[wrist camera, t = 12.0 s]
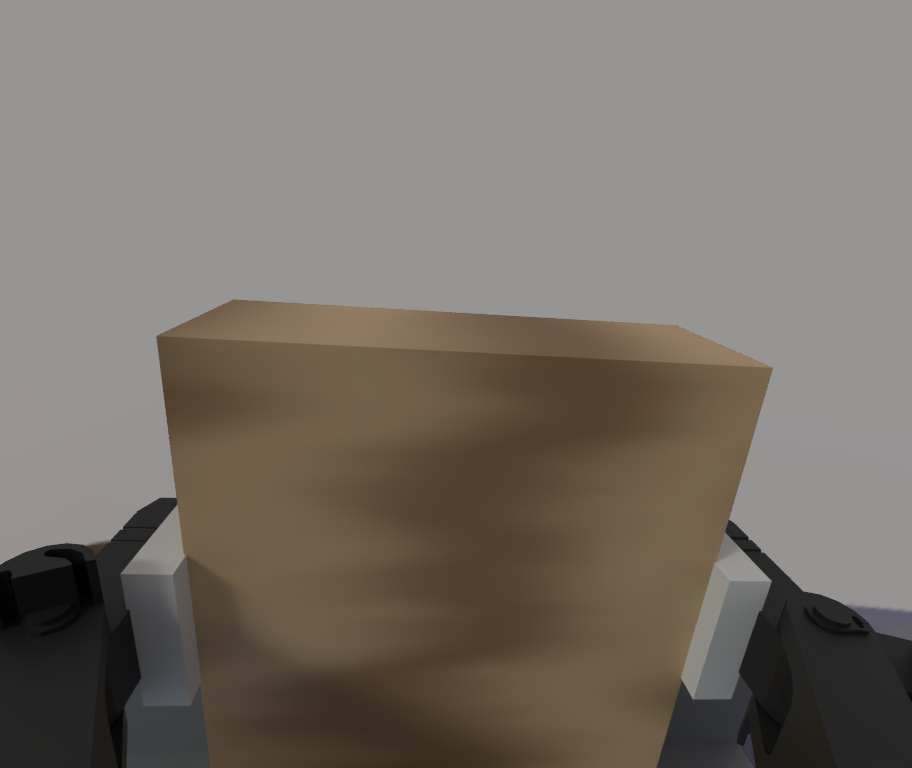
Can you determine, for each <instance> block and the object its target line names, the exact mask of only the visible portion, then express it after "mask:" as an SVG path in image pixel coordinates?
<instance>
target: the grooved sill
mask: <svg viewBox="0 0 912 768" xmlns="http://www.w3.org/2000/svg"><path fill="white" fill-rule="evenodd" d="M752 693H753V692H752V691H751V690H750V688H749V687H748V685H747V684H746V682H745V681H744V679H743V678H742V677H741V675H739V678H738V681H737V684H736V687H735V690H734V692H733V695H732V698H731V699H695V700H693V699H692V697H691V695H690V693H689V691H688V690H687V688H686V686H685V684H684V683H683V681H682V682H681V685H680V689H679V692H678V695H677V699H676V702H675V706H674V709H673V713H672V716H671V719H670V723H669V726H668V730H667V733H666V737H665V740H664V743H663V747H662V750H661V754H660V757H659V761H658V764H657V767H656V768H754V767H753V765H752V764H751V762H750V760H749V759H748V757H747V755H746V754H745V752H744V750H743V749H742V747H741V745H739V744H737V737H738V732H739V729H740V726H741V724H742V721H743V718H744V715H745V712H746V710H747V707H748V704H749V701H750V699H751V696H752ZM124 707H125V713H126V718H127V723H128V730H127V768H210V760H209V752H208V744H207V736H206V728H205V720H204V712H203V704H202V696H201V688H200V686H199V688H198V690H197V692H196V694H195V697H194V699H193V701H192V703H191V705H190V706H143V701H142V695H141V689H140V683H138V684H137V686H136V688H135V689H134V691H133V693H132V695H131V696H130V698H129V700H128V701H127V703H126V705H125V706H124Z"/></svg>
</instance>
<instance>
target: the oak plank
mask: <svg viewBox="0 0 912 768" xmlns="http://www.w3.org/2000/svg"><path fill="white" fill-rule="evenodd" d="M157 345H158V352H159V361H160V369H161V376H162V384H163V393H164V400H165V408H166V415H167V424H168V433H169V441H170V448H171V456H172V465H173V473H174V481H175V489H176V497H177V505H178V513H179V521H180V529H181V537H182V545H183V553H184V555H186V557H187V566H188V574H189V582H190V591H191V599H192V607H193V615H194V624H195V632H196V640H197V649H198V657H199V665H200V674H201V684H200V688H201V696H202V704H203V712H204V720H205V728H206V736H207V744H208V752H209V760H210V768H656V767H657V764H658V761H659V757H660V754H661V750H662V747H663V743H664V740H665V737H666V733H667V730H668V726H669V723H670V719H671V716H672V713H673V709H674V706H675V702H676V699H677V695H678V692H679V689H680V685H681V682H682V679H681V675H682V672H683V669H684V665H685V662H686V658H687V655H688V651H689V648H690V645H691V641H692V638H693V634H694V631H695V628H696V624H697V621H698V617H699V614H700V610H701V607H702V604H703V600H704V597H705V593H706V590H707V587H708V583H709V580H710V576H711V573H712V569H713V566H714V563H716V562H717V558H718V555H719V551H720V548H721V544H722V541H723V538H724V534H725V531H726V527H727V524H728V520H729V517H730V513H731V510H732V507H733V503H734V500H735V496H736V493H737V489H738V486H739V482H740V479H741V476H742V472H743V468H744V465H745V462H746V459H747V455H748V451H749V448H750V445H751V441H752V438H753V435H754V431H755V427H756V424H757V420H758V417H759V414H760V410H761V407H762V404H763V400H764V396H765V393H766V390H767V387H768V383H769V380H770V376H771V373H772V369H773V368H772V367H770V366H768V365H765V364H763V363H761V362H759V361H756V360H754V359H752V358H749V357H747V356H745V355H743V354H740V353H738V352H736V351H733V350H731V349H729V348H727V347H724V346H722V345H720V344H717V343H715V342H713V341H710V340H708V339H706V338H704V337H701V336H699V335H696V334H694V333H692V332H690V331H688V330H685V329H683V328H681V327H679V326H673V325H657V324H638V323H621V322H606V321H589V320H588V321H587V320H571V319H555V318H537V317H520V316H503V315H486V314H469V313H451V312H435V311H434V312H433V311H418V310H401V309H384V308H367V307H350V306H349V307H348V306H333V305H316V304H299V303H282V302H264V301H248V300H247V301H246V300H232V301H230V302H228V303H225V304H223V305H221V306H219V307H217V308H215V309H213V310H211V311H208V312H207V313H204V314H202V315H200V316H198V317H196V318H194V319H192V320H189V321H188V322H185V323H183V324H181V325H179V326H177V327H175V328H172V329H170V330H168V331H166V332H164V333H162V334H160V335H158V336H157Z"/></svg>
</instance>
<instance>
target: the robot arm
mask: <svg viewBox="0 0 912 768" xmlns="http://www.w3.org/2000/svg"><path fill="white" fill-rule="evenodd" d="M739 675H741V677H742V678H743V679H744V681H745V682H746V684H747V685H748V687H749V688H750V690H751V691H752V692H753V693H752V696H751V699H750V701H749V704H748V707H747V710H746V712H745V715H744V718H743V721H742V724H741V726H740V729H739V732H738V737H737V744H739V745H742V746H744V743H745V740H746V738H747V735H748V734H750V733H751V739H752V745H753V751H754V757H755V764H756V768H912V641H910V640H905V639H901V638H897V637H893V636H889V635H884V634H880V633H876V632H875V631H874V630H873V628H872V627H871V626H870V624H869V623H868V622H867V621H866V620H865V619H864V618H862V617H861V616H860V615H859V614H857V613H856V612H855V611H854V610H852V609H850V608H848V607H847V606H845V605H843V604H841V603H840V602H838V601H836V600H833V599H830V598H828V597H825V596H822V595H819V594H814V593H808V592H803V591H802V590H801V589H800V588H799V587H798V586H797V585H796V584H795V583H794V582H793V581H792V580H791V579H790V578H789V577H788V576H787V575H786V574H785V573H784V572H783V571H782V570H781V569H780V568H779V567H778V566H777V565H776V564H775V563H774V562H773V561H772V560H771V559H770V558H769V557H768V556H767V555H766V554H765V553H761V549H760V548H759V547H758V546H757V545H756V544H755V543H754V542H753V541H752V540H749V539H748V536H747V535H746V534H745V533H744V532H743V531H742V530H741V529H740V528H739V527H737V525H735V524H734V523H733V522H732V521H730V520H728V524H727V527H726V531H725V534H724V538H723V541H722V544H721V548H720V551H719V555H718V558H717V562H716V563H714V566H713V569H712V573H711V576H710V580H709V583H708V587H707V590H706V593H705V597H704V600H703V604H702V607H701V610H700V614H699V617H698V621H697V624H696V628H695V631H694V634H693V638H692V641H691V645H690V648H689V651H688V655H687V658H686V662H685V665H684V669H683V672H682V675H681V679H682V681H683V683H684V684H685V686H686V688H687V690H688V691H689V693H690V695H691V697H692V699H693V700H695V699H731V698H732V695H733V692H734V690H735V687H736V684H737V681H738V678H739ZM138 683H140V689H141V695H142V701H143V706H190V705H191V703H192V701H193V699H194V697H195V694H196V692H197V690H198V688H199V686H200V684H201V674H200V665H199V657H198V649H197V640H196V632H195V624H194V615H193V607H192V599H191V591H190V582H189V574H188V566H187V557H186V555H184V553H183V545H182V537H181V529H180V521H179V513H178V505H177V498H159V499H158V500H156V501H154V502H152V503H151V504H149V505H147V506H146V507H144V508H142V509H141V510H139V511H138V512H137V513H136V514H135V515H134V516H133V517H132V518H131V519H130V520H129V521H128V522H127V523H126V525H124V527H123V530H120V531H119V532H118V533H117V534H116V535H115V536H114V538H113V539H111V543H108V544H107V545H106V546H105V547H104V548H103V549H102V550H101V551H100V552H99V553H98V554H97V555H96V557H95V555H94V552H93V550H91V549H90V548H88V547H86V546H84V545H78V544H68V543H66V544H58V545H51V546H45V547H42V548H38V549H35V550H32V551H28V552H25V553H23V554H21V555H18V556H16V557H14V558H12V559H10V560H8V561H6V562H4V563H3V564H1V565H0V768H127V730H128V723H127V718H126V713H125V707H124V706H125V705H126V703H127V701H128V700H129V698H130V696H131V695H132V693H133V691H134V689H135V688H136V686H137V684H138Z"/></svg>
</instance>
